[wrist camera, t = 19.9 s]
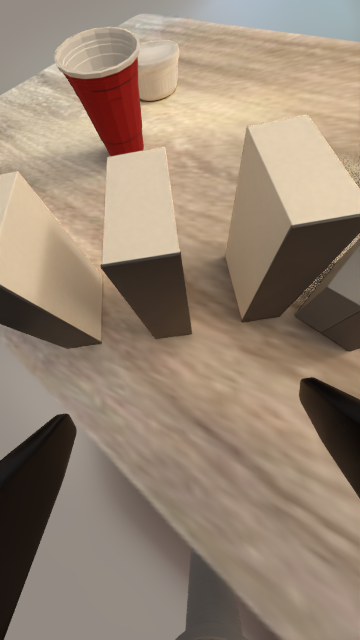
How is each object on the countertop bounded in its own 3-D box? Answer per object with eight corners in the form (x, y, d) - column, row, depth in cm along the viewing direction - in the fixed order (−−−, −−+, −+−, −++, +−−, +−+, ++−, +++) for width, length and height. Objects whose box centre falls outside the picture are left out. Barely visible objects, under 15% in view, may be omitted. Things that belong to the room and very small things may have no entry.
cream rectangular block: (192, 334, 22) (181, 254, 10) (155, 339, 22) (100, 267, 10) (182, 266, 25) (165, 146, 13) (151, 271, 25) (105, 156, 13)
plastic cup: (115, 185, 32) (71, 74, 21) (89, 155, 36) (40, 48, 25) (170, 155, 34) (155, 37, 23) (139, 130, 38) (114, 18, 27)
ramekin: (168, 72, 45) (164, 33, 40) (190, 91, 41) (189, 50, 36) (123, 89, 44) (114, 51, 40) (141, 110, 40) (133, 71, 35)
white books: (279, 316, 22) (378, 213, 9) (66, 348, 23) (-86, 292, 11) (256, 250, 25) (308, 113, 13) (73, 281, 26) (-36, 181, 14)
